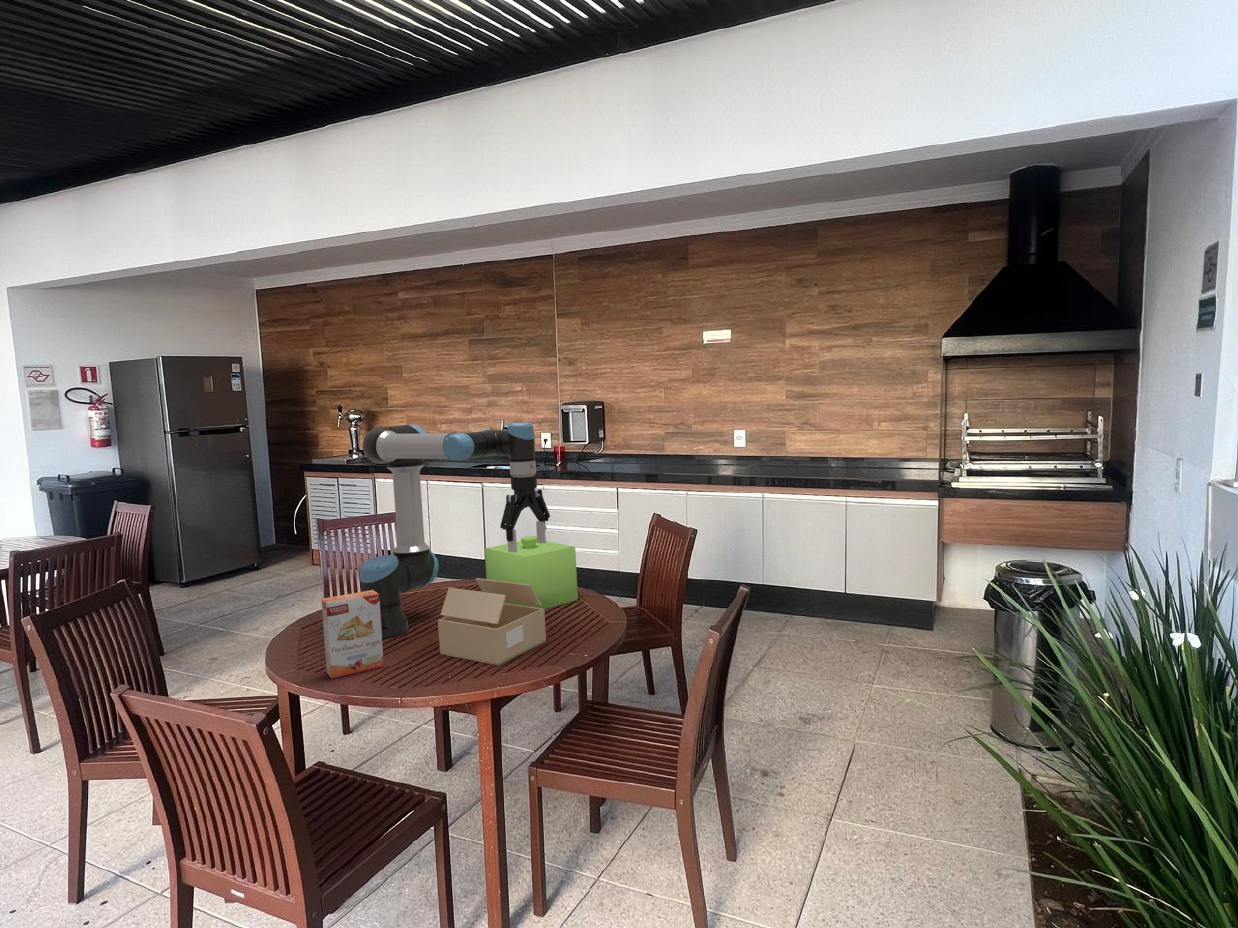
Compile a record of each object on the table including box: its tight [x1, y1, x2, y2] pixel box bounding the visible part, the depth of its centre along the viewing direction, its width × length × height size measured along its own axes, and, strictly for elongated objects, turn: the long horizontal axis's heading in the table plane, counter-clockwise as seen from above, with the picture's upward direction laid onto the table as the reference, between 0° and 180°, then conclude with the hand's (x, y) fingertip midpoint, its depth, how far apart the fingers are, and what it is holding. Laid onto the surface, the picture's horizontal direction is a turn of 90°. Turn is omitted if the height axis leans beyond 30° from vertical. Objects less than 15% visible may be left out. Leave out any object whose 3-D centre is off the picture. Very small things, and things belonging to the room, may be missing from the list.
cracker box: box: [321, 590, 384, 679], centre depth 199 cm, size 14×6×21 cm, turn 124°
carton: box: [437, 603, 547, 667], centre depth 213 cm, size 22×21×10 cm
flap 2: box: [475, 577, 541, 606], centre depth 219 cm, size 21×1×8 cm, turn 59°
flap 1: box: [440, 587, 506, 624], centre depth 206 cm, size 21×1×8 cm
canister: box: [484, 535, 579, 610], centre depth 262 cm, size 25×21×23 cm
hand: (527, 547), depth 217 cm, fingers open, 13 cm apart
